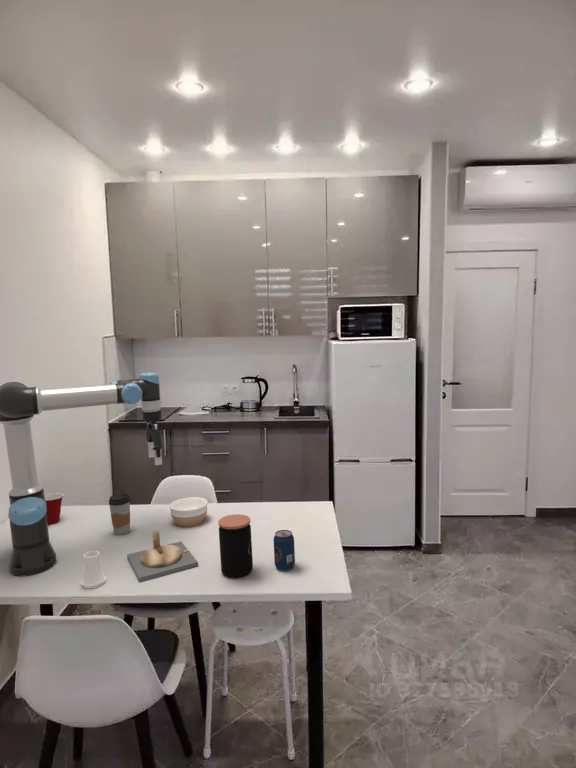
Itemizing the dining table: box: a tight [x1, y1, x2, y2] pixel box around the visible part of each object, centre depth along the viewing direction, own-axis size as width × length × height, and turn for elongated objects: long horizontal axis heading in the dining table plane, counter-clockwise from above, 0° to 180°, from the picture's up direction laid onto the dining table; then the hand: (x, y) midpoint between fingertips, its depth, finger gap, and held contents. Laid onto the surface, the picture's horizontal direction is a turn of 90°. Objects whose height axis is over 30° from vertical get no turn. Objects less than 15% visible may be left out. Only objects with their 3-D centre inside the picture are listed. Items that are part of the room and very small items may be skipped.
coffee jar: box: [217, 513, 254, 580], centre depth 170 cm, size 11×11×18 cm
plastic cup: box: [44, 492, 65, 525], centre depth 222 cm, size 11×11×12 cm
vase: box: [81, 550, 107, 590], centre depth 168 cm, size 8×8×10 cm
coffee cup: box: [108, 493, 131, 535], centre depth 208 cm, size 8×8×15 cm
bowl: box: [169, 496, 209, 527], centre depth 217 cm, size 16×16×8 cm
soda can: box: [273, 529, 296, 572], centre depth 173 cm, size 7×7×12 cm
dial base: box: [126, 541, 199, 583], centre depth 181 cm, size 20×20×2 cm
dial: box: [141, 530, 182, 567], centre depth 180 cm, size 14×14×7 cm
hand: (155, 460), depth 212 cm, fingers open, 13 cm apart
